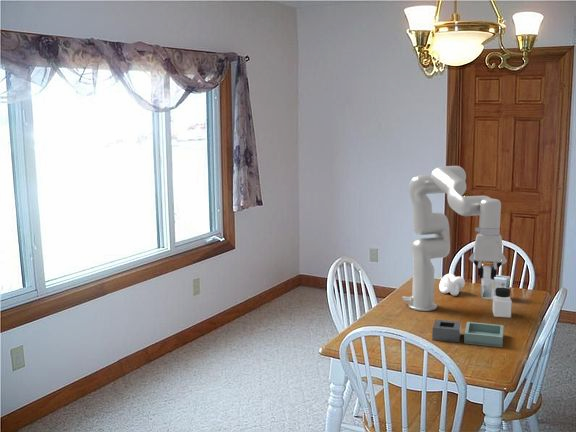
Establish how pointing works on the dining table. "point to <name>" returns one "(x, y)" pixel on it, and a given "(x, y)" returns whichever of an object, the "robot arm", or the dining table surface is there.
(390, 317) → the dining table surface
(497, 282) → the light bulb box
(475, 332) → the tray
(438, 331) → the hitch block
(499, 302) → the medicine bottle
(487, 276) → the pin
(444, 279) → the white irregular lump
